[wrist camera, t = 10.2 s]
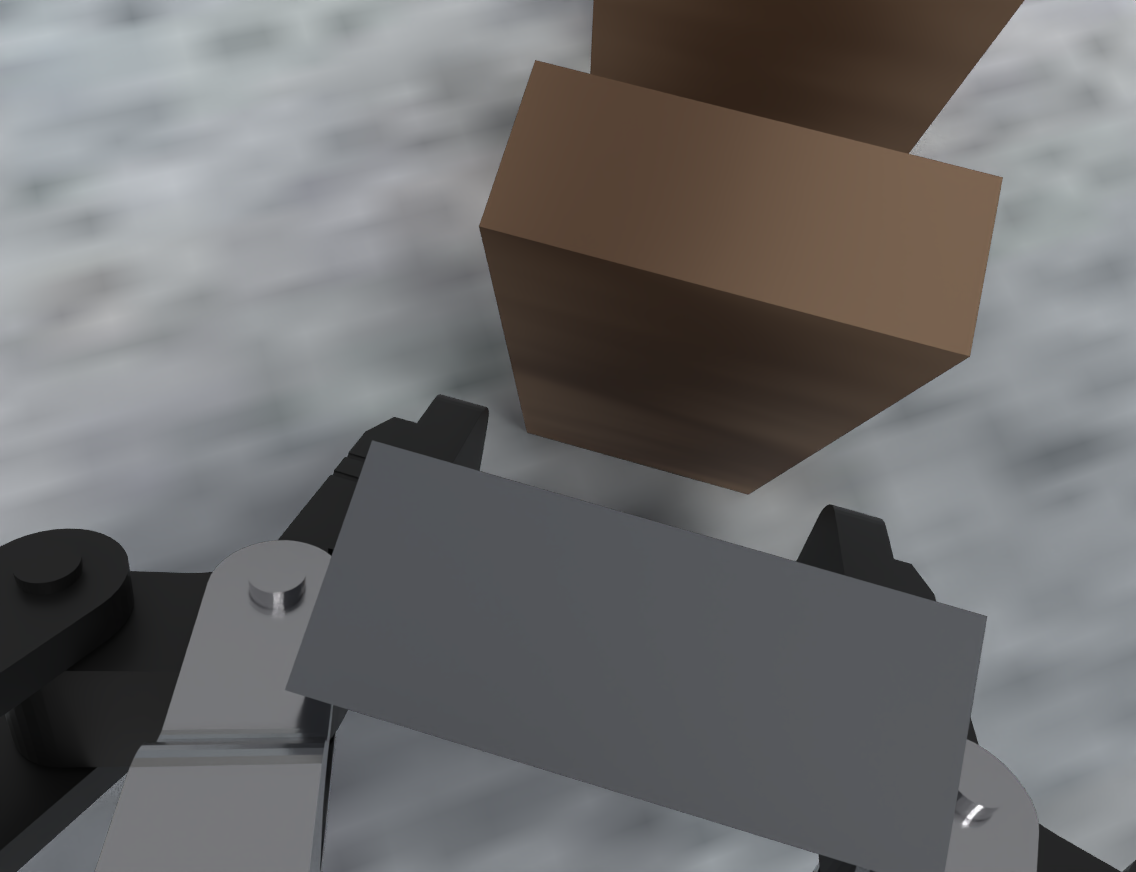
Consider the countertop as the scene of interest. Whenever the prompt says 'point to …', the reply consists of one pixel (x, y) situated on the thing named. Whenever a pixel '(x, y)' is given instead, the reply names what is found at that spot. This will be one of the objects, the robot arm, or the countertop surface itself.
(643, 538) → the domino
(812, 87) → the domino
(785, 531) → the countertop surface
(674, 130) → the domino
